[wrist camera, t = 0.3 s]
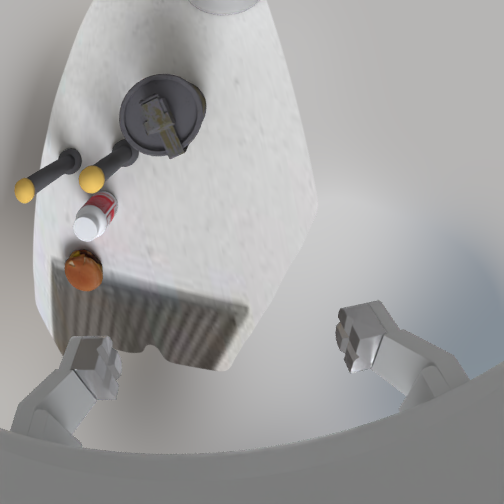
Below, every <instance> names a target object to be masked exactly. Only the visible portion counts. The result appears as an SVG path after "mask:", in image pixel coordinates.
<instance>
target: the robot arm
mask: <svg viewBox="0 0 504 504" xmlns="http://www.w3.org/2000/svg"><path fill="white" fill-rule="evenodd" d="M189 2H190V3H191V4H193V5H194V6H195V7H196V8H198V9H200V10H202V11H204V12H207V13H211V14H217V15H230V14H236V13H240V12H243V11H245V10H247V9H249V8H251V7H253V6H254V5H255V4H256V3H258V2H259V0H189ZM338 318H339V320H340V322H339V323H338V325H337V326H336V341H337V344H338V347H339V349H340V351H342V352H344V353H345V357H344V361H345V363H346V365H347V368H348V370H349V372H350V373H354V372H358V371H363V370H367V369H371V368H372V370H373V371H374V372H375V373H377V374H378V375H379V376H381V377H382V378H383V379H385V380H386V381H387V382H388V383H390V384H391V385H392V386H394V387H395V388H396V389H398V390H399V391H401V392H402V393H403V394H404V395H406V398H405V400H404V401H403V403H402V404H401V406H400V408H399V411H400V412H399V413H397V414H394V415H391V416H389V417H386V418H383V419H380V420H377V421H374V422H371V423H368V424H365V425H362V426H358V427H355V428H352V429H348V430H344V431H341V432H337V433H333V434H329V435H325V436H321V437H317V438H313V439H308V440H303V441H298V442H293V443H288V444H282V445H276V446H270V447H263V448H256V449H248V450H240V451H229V452H218V453H200V454H145V453H126V452H115V451H106V450H97V449H89V448H82V444H81V442H80V441H79V440H78V439H77V438H75V437H74V436H73V435H72V434H73V432H74V431H75V430H76V428H77V427H78V426H79V424H80V423H81V421H82V420H83V419H84V418H85V416H86V415H87V413H88V412H89V411H90V409H91V408H92V407H93V405H94V404H95V403H96V401H97V400H116V399H117V393H118V388H119V384H118V383H117V381H116V380H117V379H118V378H119V377H120V376H121V372H122V362H121V358H120V355H119V353H118V352H117V351H116V350H115V349H113V348H112V345H113V342H112V341H111V339H110V337H108V336H73V337H72V338H71V339H70V341H69V343H68V346H67V348H66V351H65V353H64V356H63V359H62V361H61V364H60V367H59V369H55V370H54V371H53V372H52V373H51V374H50V375H49V376H48V377H47V378H46V379H45V380H44V381H42V382H41V383H40V384H39V385H38V386H37V387H36V388H35V389H34V390H33V391H32V392H31V393H30V394H29V395H28V396H27V397H26V398H25V399H23V400H22V402H20V403H19V405H18V407H17V410H16V414H15V417H14V420H13V424H12V426H11V430H10V431H8V430H5V429H1V428H0V504H504V361H503V362H501V363H500V364H498V365H496V366H495V367H493V368H491V369H490V370H488V371H486V372H485V373H483V374H481V375H479V376H477V377H476V378H474V379H472V380H470V379H469V378H468V376H467V375H466V373H465V372H464V370H463V368H462V367H461V365H460V364H459V362H458V361H457V359H456V358H455V357H454V355H452V354H450V353H448V352H446V351H444V350H442V349H441V348H439V347H436V346H435V345H433V344H431V343H429V342H427V341H425V340H423V339H421V338H419V337H417V336H416V335H414V334H412V333H410V332H407V331H406V330H400V329H399V328H398V326H397V324H396V323H395V321H394V320H393V318H392V317H391V315H390V314H389V313H388V311H387V310H386V308H385V307H384V305H383V304H382V302H381V301H379V300H378V301H373V302H369V303H364V304H359V305H355V306H350V307H345V308H341V309H340V311H339V314H338Z"/></svg>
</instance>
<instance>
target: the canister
mask: <svg viewBox="0 0 504 504" xmlns="http://www.w3.org/2000/svg"><path fill="white" fill-rule="evenodd" d="M205 113H206V101H205V98H204V96H203V94H202V92H201V91H200V90H199V89H198V87H196V86H195V85H193V84H191V83H189V82H187V81H186V80H184V79H182V78H180V77H178V76H175V75H170V74H158V75H153V76H149V77H147V78H145V79H143V80H141V81H140V82H138V83H136V84H135V85H134V86H133V87H132V88H131V89H130V90H129V91H128V93H127V94H126V96H125V97H124V100H123V102H122V104H121V108H120V115H119V122H120V127H121V131H122V133H123V135H124V137H125V139H126V140H127V142H128V143H129V144H130V145H131V146H132V147H133V148H134V149H136V150H138V151H140V152H142V153H143V154H147V155H151V156H165V155H168V157H169V159H172V158H174V157H176V156H179V155H181V154H183V153H185V152H186V150H187V147H188V145H189V144H190V143H191V142H192V140H193V139H194V138H195V136H196V135H197V133H198V132H199V129H200V127H201V124H202V121H203V119H204V117H205Z"/></svg>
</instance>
